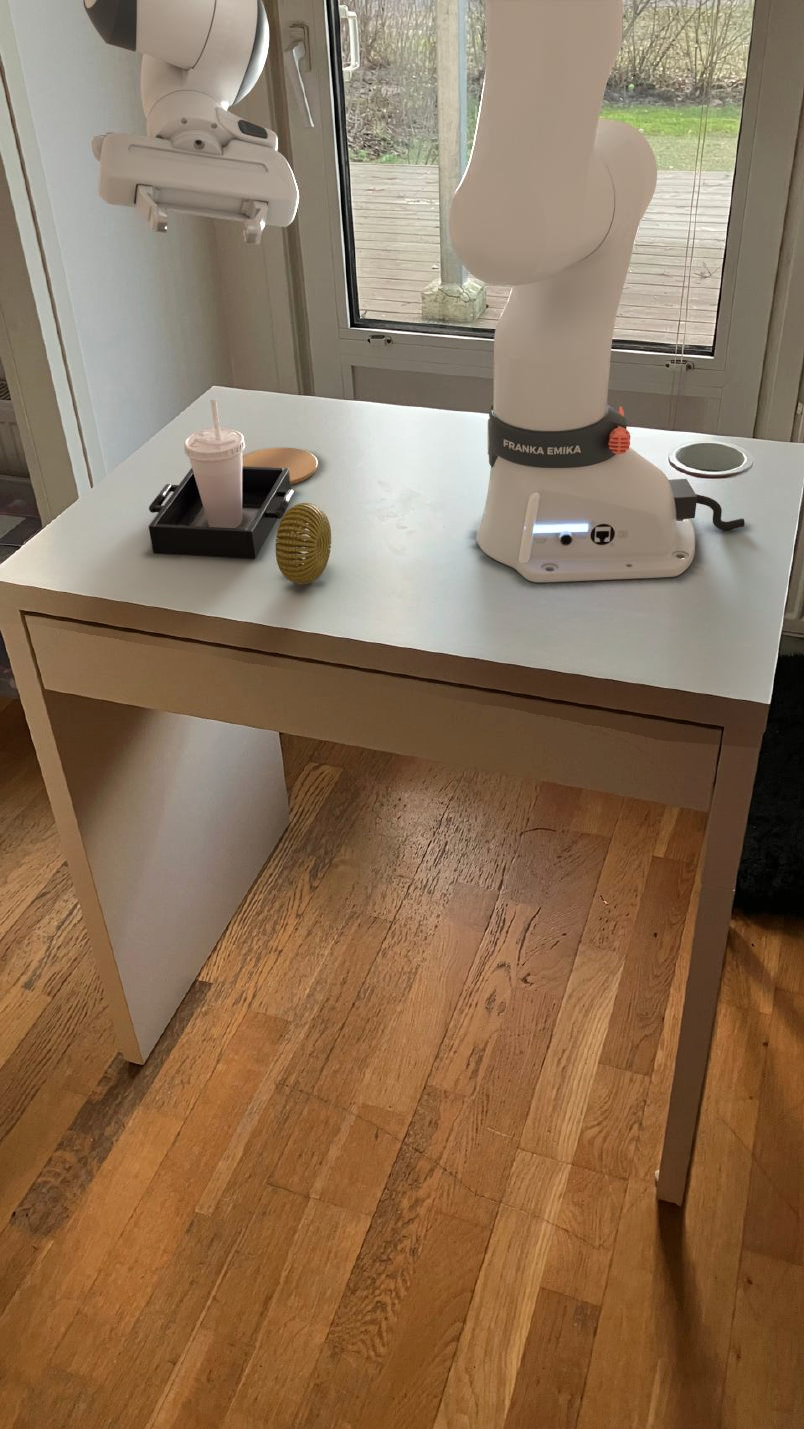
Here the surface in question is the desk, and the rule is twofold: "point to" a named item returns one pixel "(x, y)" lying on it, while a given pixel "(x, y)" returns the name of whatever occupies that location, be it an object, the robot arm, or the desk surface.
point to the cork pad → (284, 461)
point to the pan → (180, 538)
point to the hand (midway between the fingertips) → (207, 232)
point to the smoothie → (218, 471)
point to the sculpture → (303, 543)
